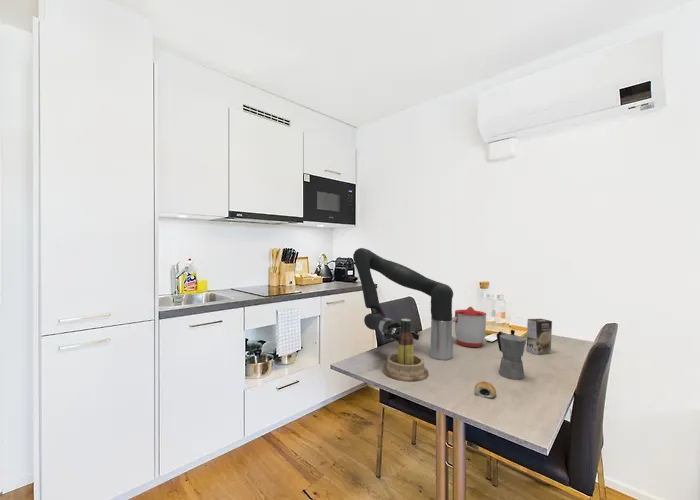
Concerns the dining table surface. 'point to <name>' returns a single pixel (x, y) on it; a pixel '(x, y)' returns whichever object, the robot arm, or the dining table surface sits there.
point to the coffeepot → (511, 355)
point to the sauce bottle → (405, 344)
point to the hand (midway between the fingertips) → (408, 338)
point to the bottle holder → (405, 369)
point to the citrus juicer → (470, 327)
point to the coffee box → (539, 336)
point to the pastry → (485, 390)
